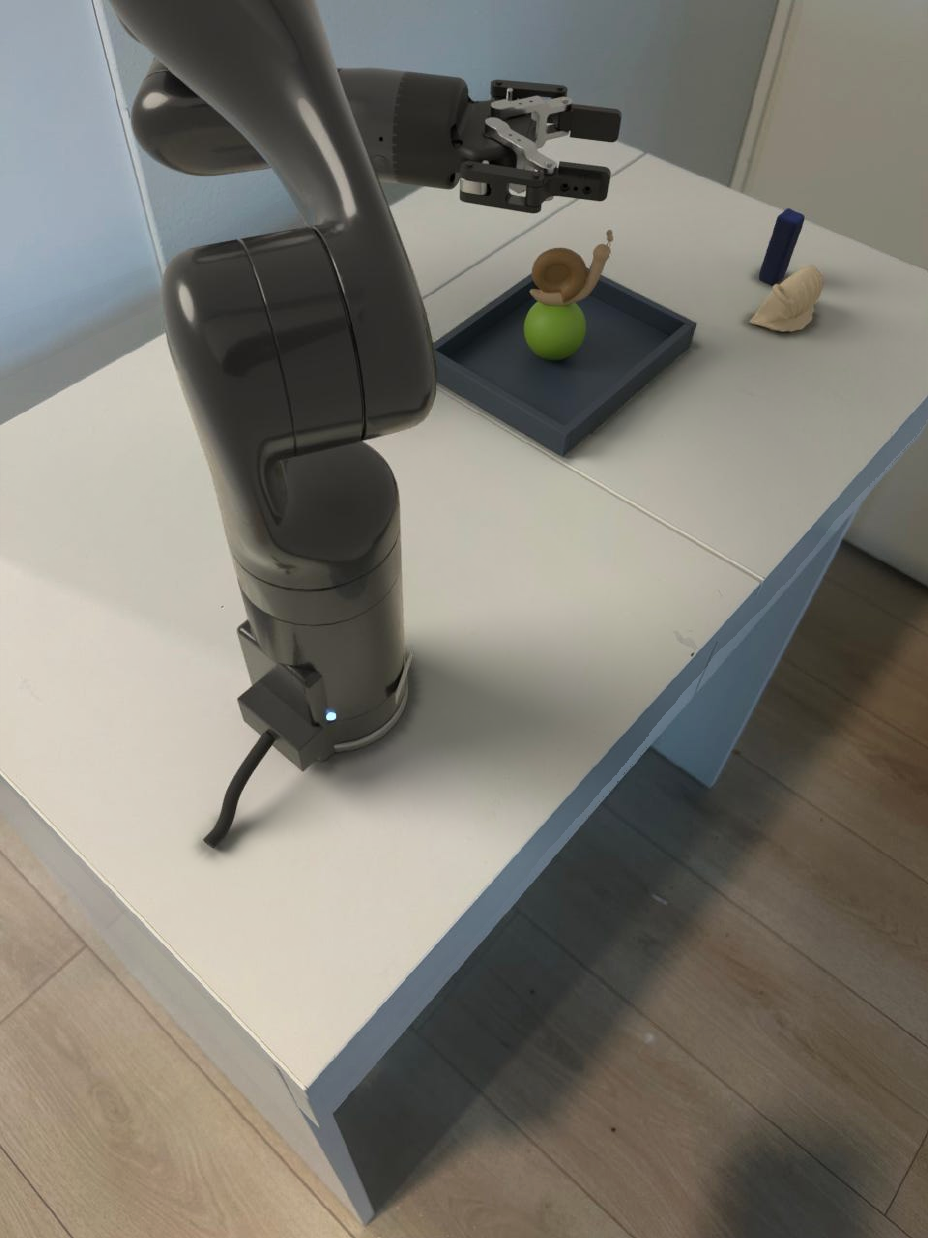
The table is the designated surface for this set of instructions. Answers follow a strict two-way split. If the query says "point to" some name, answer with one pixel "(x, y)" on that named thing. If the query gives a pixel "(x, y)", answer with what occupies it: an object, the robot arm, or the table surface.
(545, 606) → the table surface
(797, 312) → the beige curved piece
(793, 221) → the eraser
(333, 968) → the table surface
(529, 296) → the tray
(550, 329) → the snail figurine
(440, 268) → the table surface
